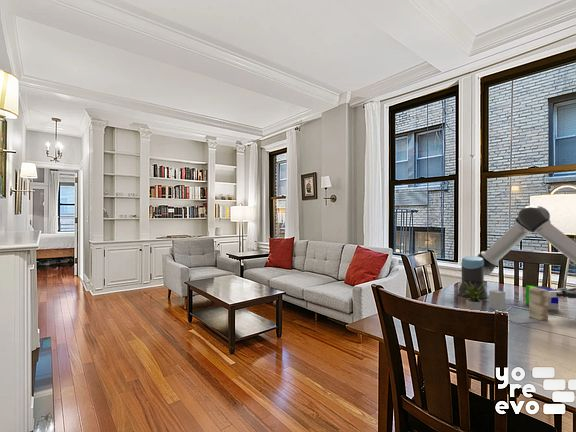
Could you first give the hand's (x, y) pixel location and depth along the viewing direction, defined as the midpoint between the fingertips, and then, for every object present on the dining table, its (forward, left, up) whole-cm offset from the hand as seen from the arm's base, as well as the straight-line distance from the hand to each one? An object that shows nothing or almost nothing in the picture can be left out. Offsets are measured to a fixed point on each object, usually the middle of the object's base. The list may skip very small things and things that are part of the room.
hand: (549, 294), depth 147 cm
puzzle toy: (-12, +18, -12) cm, 25 cm away
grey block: (-20, -7, -12) cm, 24 cm away
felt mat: (-5, -15, -11) cm, 19 cm away
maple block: (-2, -5, -12) cm, 13 cm away
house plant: (-22, -25, -12) cm, 35 cm away
